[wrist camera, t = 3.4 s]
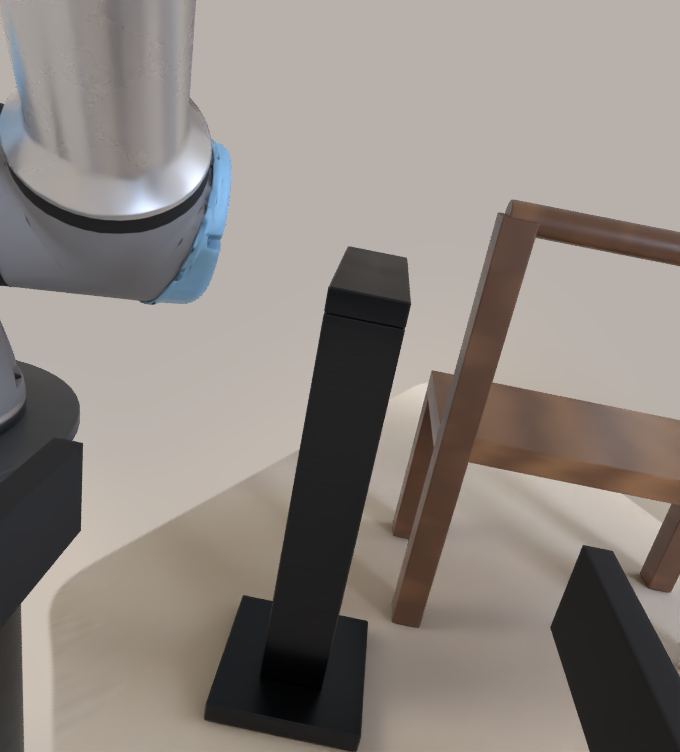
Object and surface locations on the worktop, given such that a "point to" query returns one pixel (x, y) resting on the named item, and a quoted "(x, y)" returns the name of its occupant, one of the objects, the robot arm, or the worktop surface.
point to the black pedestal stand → (322, 527)
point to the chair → (531, 412)
